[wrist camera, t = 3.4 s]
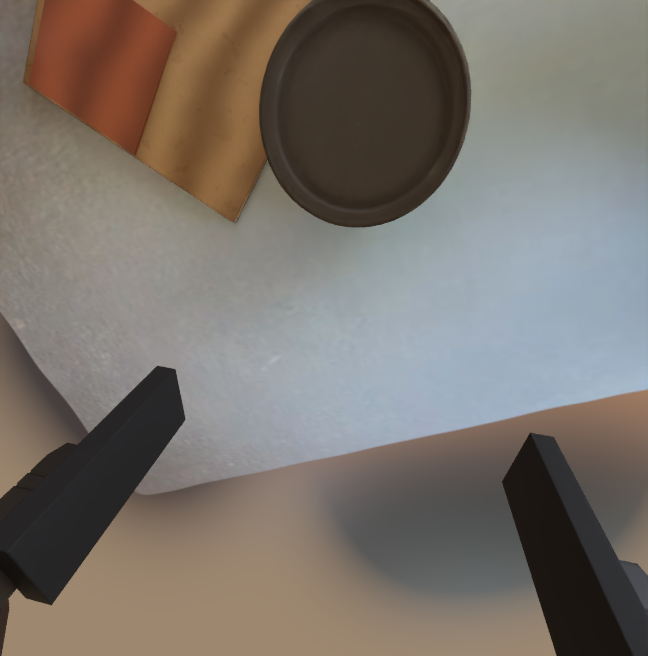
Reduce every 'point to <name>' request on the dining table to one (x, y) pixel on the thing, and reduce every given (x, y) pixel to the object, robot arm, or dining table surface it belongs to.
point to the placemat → (166, 82)
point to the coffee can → (364, 108)
